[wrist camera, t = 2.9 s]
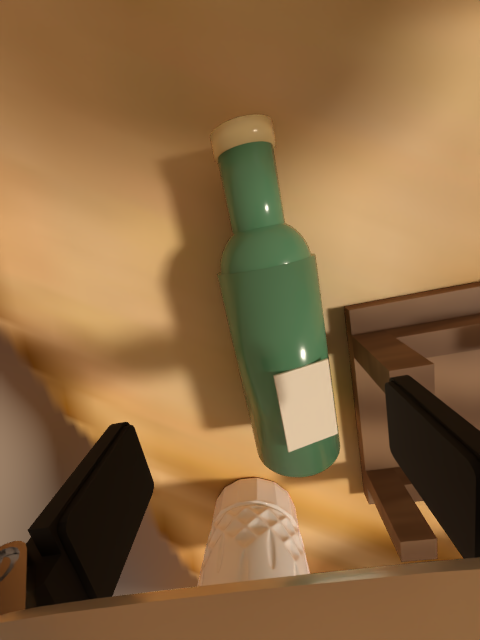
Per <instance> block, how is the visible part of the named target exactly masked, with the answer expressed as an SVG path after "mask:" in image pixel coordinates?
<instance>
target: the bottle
mask: <svg viewBox="0 0 480 640" xmlns="http://www.w3.org/2000/svg"><path fill="white" fill-rule="evenodd" d="M210 141H211V145H212V150H213V155H214V160H215V162H216V163H217V164H219V169H220V174H221V179H222V184H223V189H224V194H225V198H226V203H227V208H228V213H229V218H230V223H231V228H232V232H233V235H232V236H231V237H230V239H229V240H228V242H227V243H226V245H225V247H224V250H223V253H222V257H221V264H220V271H221V272H220V273H218V274H217V276H218V281H219V285H220V290H221V294H222V298H223V303H224V307H225V311H226V316H227V320H228V324H229V329H230V333H231V337H232V342H233V346H234V350H235V355H236V359H237V364H238V368H239V372H240V377H241V381H242V385H243V390H244V394H245V398H246V403H247V407H248V411H249V416H250V420H251V425H252V429H253V433H254V438H255V442H256V446H257V451H258V454H259V457H260V459H261V461H262V462H263V463H264V465H265V466H266V467H268V468H269V469H270V470H272V471H274V472H276V473H278V474H281V475H284V476H288V477H307V476H312V475H315V474H318V473H320V472H322V471H324V470H325V469H327V468H328V467H330V466H331V465H332V464H333V463H334V461H335V460H336V458H337V457H338V454H339V451H340V441H339V433H338V425H337V418H336V410H335V402H334V394H333V387H332V379H331V371H330V364H329V356H328V348H327V340H326V333H325V325H324V317H323V310H322V302H321V294H320V286H319V279H318V271H317V263H316V256H315V254H311V253H310V249H309V247H308V245H307V243H306V241H305V239H304V238H303V237H302V235H301V234H300V233H299V232H298V231H297V230H296V229H294V228H293V227H291V226H290V225H288V224H286V223H285V221H284V214H283V208H282V201H281V195H280V188H279V182H278V175H277V169H276V162H275V156H274V149H275V147H276V142H275V135H274V128H273V122H272V119H271V118H270V117H269V116H266V115H261V114H252V115H245V116H240V117H237V118H234V119H231V120H228V121H226V122H224V123H222V124H221V125H219V126H218V127H216V128H215V129H214V130H213V131H212V133H211V134H210Z"/></svg>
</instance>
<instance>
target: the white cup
mask: <svg viewBox="0 0 480 640" xmlns="http://www.w3.org/2000/svg"><path fill="white" fill-rule="evenodd" d="M304 574H310V571H309V567H308V563H307V559H306V554H305V548H304V544H303V540H302V537H301V533H300V531H299V525H298V520H297V515H296V510H295V505H294V503H293V501H292V499H291V497H290V495H289V493H288V492H287V491H286V490H285V489H283V488H282V487H281V486H279V485H278V484H276V483H275V482H273V481H269V480H265V479H261V478H247V479H239V480H237V481H235V482H234V483H232V484H230V485H228V486H226V487H225V488H224V489H223V491H222V492H221V494H220V495H219V497H218V498H217V500H216V505H215V510H214V516H213V521H212V527H211V531H210V534H209V537H208V540H207V544H206V549H205V554H204V560H203V563H202V566H201V571H200V576H199V581H198V586H206V585H215V584H224V583H233V582H241V581H250V580H259V579H268V578H277V577H286V576H295V575H304Z"/></svg>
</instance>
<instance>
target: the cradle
mask: <svg viewBox="0 0 480 640" xmlns="http://www.w3.org/2000/svg"><path fill="white" fill-rule="evenodd" d="M344 310H345V319H346V329H347V338H348V347H349V357H350V366H351V375H352V385H353V394H354V403H355V413H356V422H357V431H358V441H359V450H360V459H361V469H362V478H363V487H364V494H365V496H366V498H367V501H368V503H369V504H375V505H376V507H377V509H378V512H379V514H380V516H381V518H382V520H383V522H384V525H385V527H386V529H387V531H388V533H389V535H390V538H391V540H392V542H393V544H394V546H395V548H396V551H397V553H398V555H399V557H400V559H401V561H402V562H405V561H417V560H429V559H437V538H436V536H435V535H434V533H433V531H432V530H431V528H430V526H429V525H428V523H427V522H426V520H425V518H424V517H423V515H422V513H421V512H420V510H419V509H418V507H417V505H416V504H415V502H417V501H423V499H422V498H421V496H420V495H419V493H418V492H417V491H416V489H415V488H414V486H413V485H412V483H411V482H410V480H409V479H408V478H407V476H406V475H405V473H404V472H403V470H402V469H401V467H400V466H399V465H398V463H397V462H396V460H395V459H394V457H393V455H392V453H391V451H390V446H389V435H388V422H387V410H386V397H385V383H387V382H389V379H390V378H391V377H397V376H403V375H409V376H411V377H412V378H413V379H415V380H416V381H417V382H418V383H420V384H421V385H422V386H424V387H425V388H426V389H427V390H429V391H430V392H431V393H432V394H434V395H435V396H436V397H437V398H439V399H440V400H441V401H443V402H444V403H445V404H446V405H448V406H449V407H450V408H451V409H453V410H454V411H455V412H457V413H458V414H459V415H460V416H462V417H463V418H464V419H465V420H467V421H468V422H469V423H471V424H472V425H473V426H474V427H476V428H477V429H478V430H479V431H480V282H475V283H469V284H464V285H459V286H453V287H448V288H442V289H437V290H431V291H426V292H421V293H415V294H410V295H404V296H399V297H394V298H388V299H383V300H377V301H372V302H366V303H361V304H356V305H350V306H345V307H344Z"/></svg>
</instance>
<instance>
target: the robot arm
mask: <svg viewBox="0 0 480 640" xmlns="http://www.w3.org/2000/svg"><path fill="white" fill-rule="evenodd" d="M385 397H386V410H387V422H388V435H389V446H390V451H391V453H392V455H393V457H394V459H395V460H396V462H397V463H398V465H399V466H400V467H401V469H402V470H403V472H404V473H405V475H406V476H407V478H408V479H409V480H410V482H411V483H412V485H413V486H414V488H415V489H416V491H417V492H418V493H419V495H420V496H421V498H422V499H423V501H424V502H425V503H426V505H427V506H428V508H429V509H430V511H431V512H432V514H433V515H434V516H435V518H436V519H437V521H438V522H439V524H440V525H441V527H442V528H443V529H444V531H445V532H446V534H447V535H448V537H449V538H450V539H451V541H452V542H453V544H454V545H455V547H456V548H457V550H458V551H459V552H460V554H461V555H462V557H463V558H464V559H454V560H442V561H430V562H419V563H408V564H399V565H389V566H380V567H370V568H361V569H351V570H342V571H332V572H323V573H313V574H304V575H295V576H286V577H277V578H268V579H259V580H250V581H241V582H233V583H224V584H215V585H206V586H197V587H190V588H180V589H172V590H163V591H155V592H147V593H138V594H130V595H122V596H114V597H112V595H113V593H114V590H115V588H116V585H117V583H118V580H119V578H120V575H121V572H122V570H123V567H124V565H125V562H126V560H127V557H128V554H129V552H130V549H131V547H132V544H133V542H134V539H135V537H136V534H137V531H138V529H139V527H140V524H141V521H142V519H143V516H144V514H145V511H146V509H147V506H148V504H149V501H150V498H151V496H152V493H153V489H154V482H153V479H152V476H151V473H150V470H149V468H148V465H147V462H146V459H145V456H144V453H143V451H142V448H141V445H140V442H139V439H138V436H137V434H136V431H135V428H134V426H133V425H130V424H129V423H128V422H123V423H117V424H112V425H110V426H109V427H108V428H107V430H106V431H105V432H104V434H103V435H102V436H101V437H100V439H99V440H98V441H97V442H96V444H95V445H94V446H93V448H92V449H91V450H90V451H89V453H88V454H87V455H86V457H85V458H84V459H83V460H82V462H81V463H80V464H79V465H78V467H77V468H76V469H75V471H74V472H73V473H72V474H71V476H70V477H69V478H68V479H67V481H66V482H65V483H64V485H63V486H62V487H61V488H60V490H59V491H58V492H57V494H56V495H55V496H54V497H53V499H52V500H51V501H50V502H49V504H48V505H47V506H46V507H45V509H44V510H43V512H42V513H41V514H40V516H39V517H38V518H37V519H36V520H35V522H34V523H33V524H32V525H31V527H30V528H29V529H28V532H29V533H30V535H31V538H30V539H29V541H28V542H27V543H24V542H22V541H13V542H10V543H7V544H4V545H2V546H1V547H0V640H480V431H479V430H478V429H477V428H476V427H474V426H473V425H472V424H471V423H469V422H468V421H467V420H465V419H464V418H463V417H462V416H460V415H459V414H458V413H457V412H455V411H454V410H453V409H451V408H450V407H449V406H448V405H446V404H445V403H444V402H443V401H441V400H440V399H439V398H437V397H436V396H435V395H434V394H432V393H431V392H430V391H429V390H427V389H426V388H425V387H424V386H422V385H421V384H420V383H418V382H417V381H416V380H415V379H413V378H412V377H411V376H409V375H403V376H397V377H391V378H390V379H389V382H387V383H385Z"/></svg>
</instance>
